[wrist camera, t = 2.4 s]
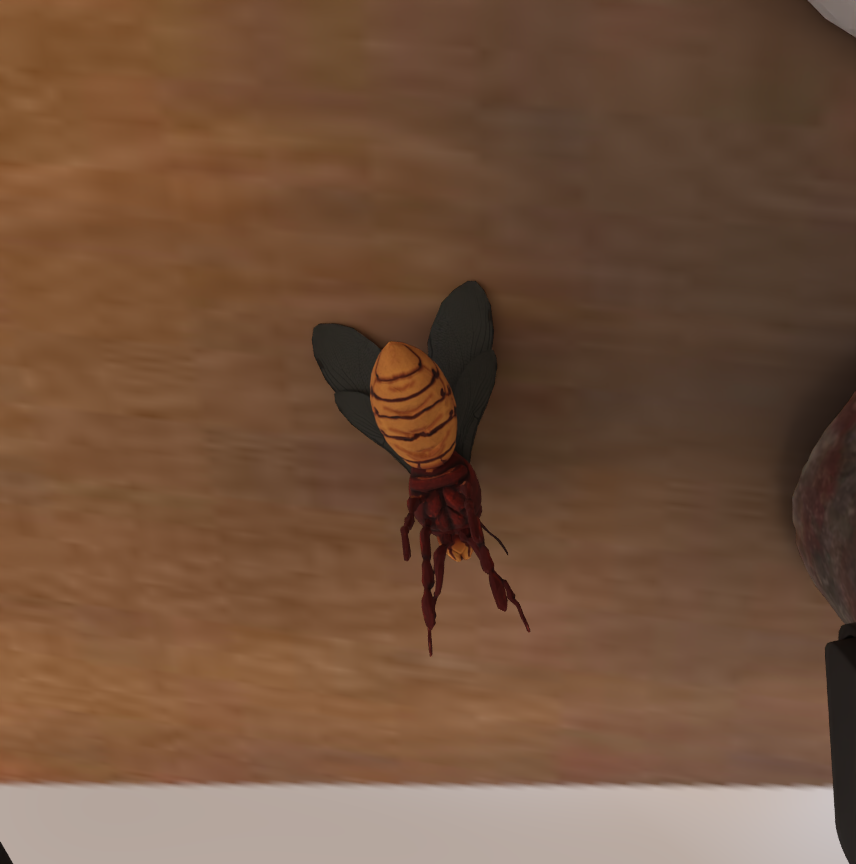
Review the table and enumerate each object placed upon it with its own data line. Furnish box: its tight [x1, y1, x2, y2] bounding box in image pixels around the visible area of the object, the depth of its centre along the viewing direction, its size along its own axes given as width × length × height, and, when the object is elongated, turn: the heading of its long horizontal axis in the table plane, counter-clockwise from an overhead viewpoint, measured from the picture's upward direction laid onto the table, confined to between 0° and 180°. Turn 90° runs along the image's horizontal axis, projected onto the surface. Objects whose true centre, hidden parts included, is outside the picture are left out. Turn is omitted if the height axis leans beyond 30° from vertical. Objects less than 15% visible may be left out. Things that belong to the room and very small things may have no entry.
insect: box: [312, 281, 530, 657], centre depth 16 cm, size 4×6×5 cm, turn 16°
